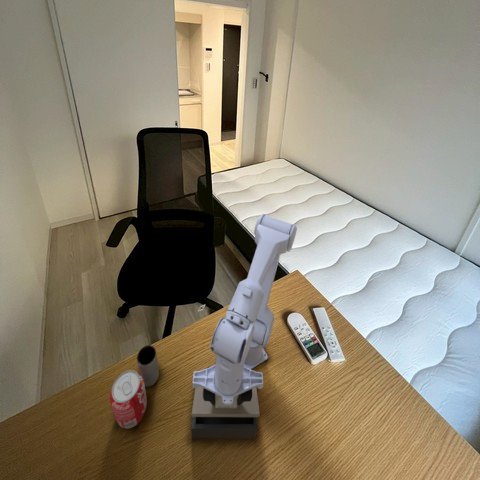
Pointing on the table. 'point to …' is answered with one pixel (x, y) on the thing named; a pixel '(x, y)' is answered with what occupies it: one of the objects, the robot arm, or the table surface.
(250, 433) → the dark grey open box
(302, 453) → the table surface
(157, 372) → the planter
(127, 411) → the soda can
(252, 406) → the lid
